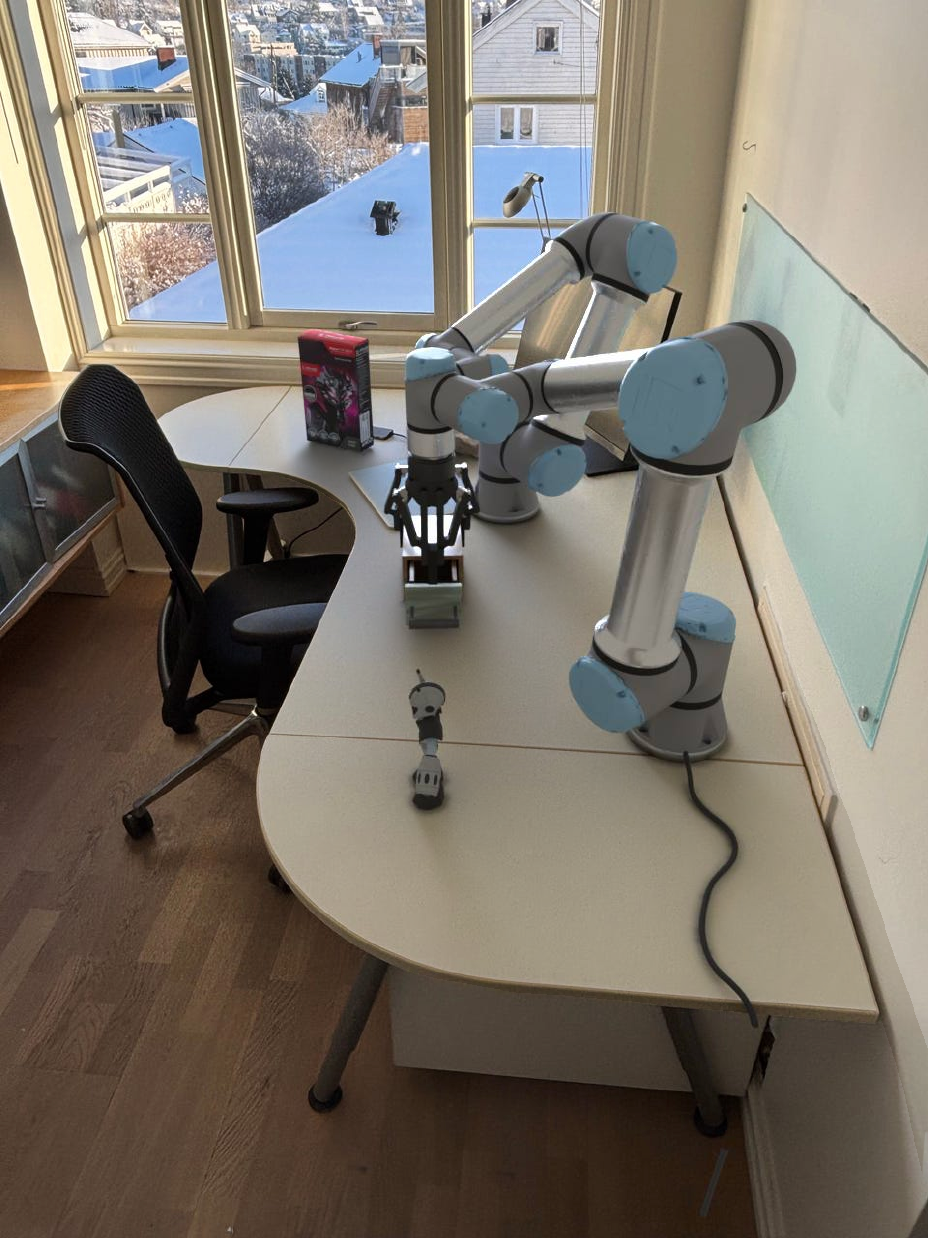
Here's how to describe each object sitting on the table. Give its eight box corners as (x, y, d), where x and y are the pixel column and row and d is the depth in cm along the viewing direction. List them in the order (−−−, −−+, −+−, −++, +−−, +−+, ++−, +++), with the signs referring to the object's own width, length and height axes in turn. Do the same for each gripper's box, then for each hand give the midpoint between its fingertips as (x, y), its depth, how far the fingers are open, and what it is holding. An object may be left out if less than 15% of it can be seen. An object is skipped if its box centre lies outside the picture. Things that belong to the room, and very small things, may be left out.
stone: (396, 441, 228) (401, 417, 225) (415, 432, 241) (420, 409, 239) (476, 465, 224) (482, 442, 222) (491, 455, 237) (496, 432, 235)
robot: (448, 840, 124) (447, 726, 113) (411, 841, 124) (407, 727, 112) (443, 742, 140) (442, 634, 129) (411, 743, 140) (408, 635, 129)
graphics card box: (304, 441, 235) (294, 334, 220) (320, 432, 240) (311, 327, 225) (361, 455, 228) (354, 345, 213) (376, 445, 233) (371, 337, 218)
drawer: (462, 643, 159) (463, 605, 154) (405, 644, 158) (404, 605, 154) (458, 580, 177) (458, 544, 173) (407, 581, 177) (406, 545, 173)
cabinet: (462, 601, 173) (463, 555, 167) (403, 601, 172) (402, 556, 167) (459, 558, 187) (460, 515, 182) (405, 559, 186) (403, 515, 181)
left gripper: (493, 431, 173) (490, 534, 185) (368, 432, 172) (373, 535, 184) (496, 446, 167) (493, 552, 179) (365, 448, 166) (371, 554, 178)
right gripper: (472, 441, 146) (470, 568, 160) (390, 441, 146) (395, 569, 159) (474, 460, 140) (472, 591, 153) (388, 461, 140) (393, 592, 153)
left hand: (432, 544), depth 182 cm, fingers closed on cabinet, 11 cm apart
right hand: (432, 580), depth 156 cm, fingers closed
